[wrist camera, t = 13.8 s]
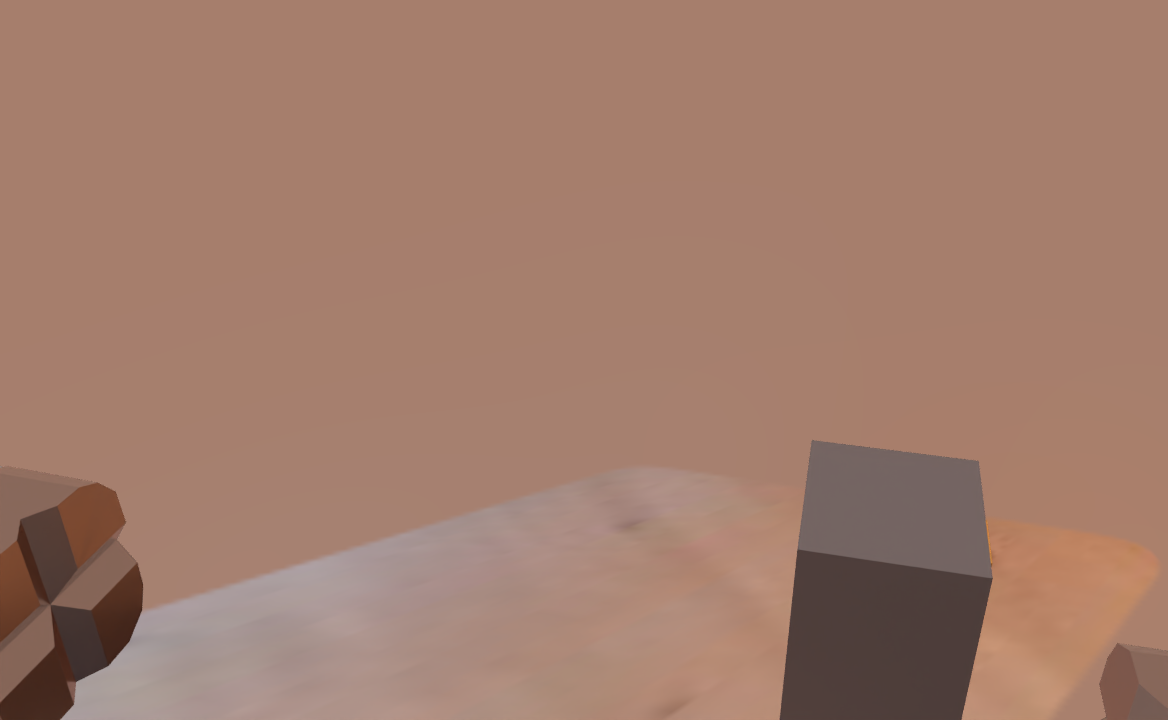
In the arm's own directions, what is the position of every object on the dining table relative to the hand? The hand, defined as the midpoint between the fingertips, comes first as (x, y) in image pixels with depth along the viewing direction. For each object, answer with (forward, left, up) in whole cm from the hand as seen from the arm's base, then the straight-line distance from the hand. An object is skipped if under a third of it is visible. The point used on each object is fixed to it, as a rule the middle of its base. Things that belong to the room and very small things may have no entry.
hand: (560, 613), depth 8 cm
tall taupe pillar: (+4, +17, -30) cm, 35 cm away
